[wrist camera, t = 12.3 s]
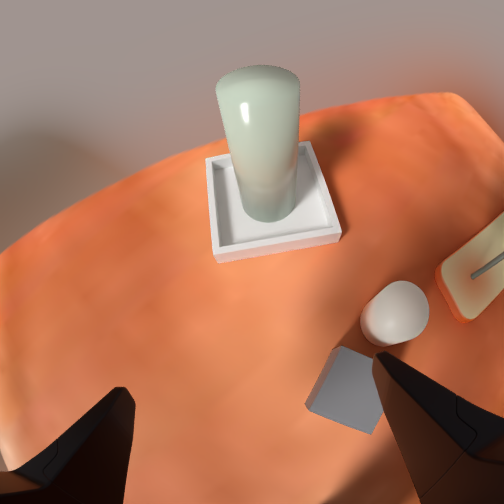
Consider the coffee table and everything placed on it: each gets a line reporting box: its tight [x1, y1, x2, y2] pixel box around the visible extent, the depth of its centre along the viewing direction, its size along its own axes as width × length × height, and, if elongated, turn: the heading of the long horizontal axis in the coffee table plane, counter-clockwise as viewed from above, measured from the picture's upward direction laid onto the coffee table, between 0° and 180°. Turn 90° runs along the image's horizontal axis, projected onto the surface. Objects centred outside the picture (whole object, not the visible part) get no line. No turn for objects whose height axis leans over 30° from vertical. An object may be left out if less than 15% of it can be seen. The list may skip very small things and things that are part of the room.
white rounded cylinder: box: [360, 281, 429, 347], centre depth 20 cm, size 4×4×4 cm
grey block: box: [305, 346, 383, 434], centre depth 18 cm, size 5×5×4 cm
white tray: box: [205, 141, 342, 264], centre depth 27 cm, size 11×11×2 cm
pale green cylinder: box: [216, 65, 300, 223], centre depth 21 cm, size 5×5×13 cm
